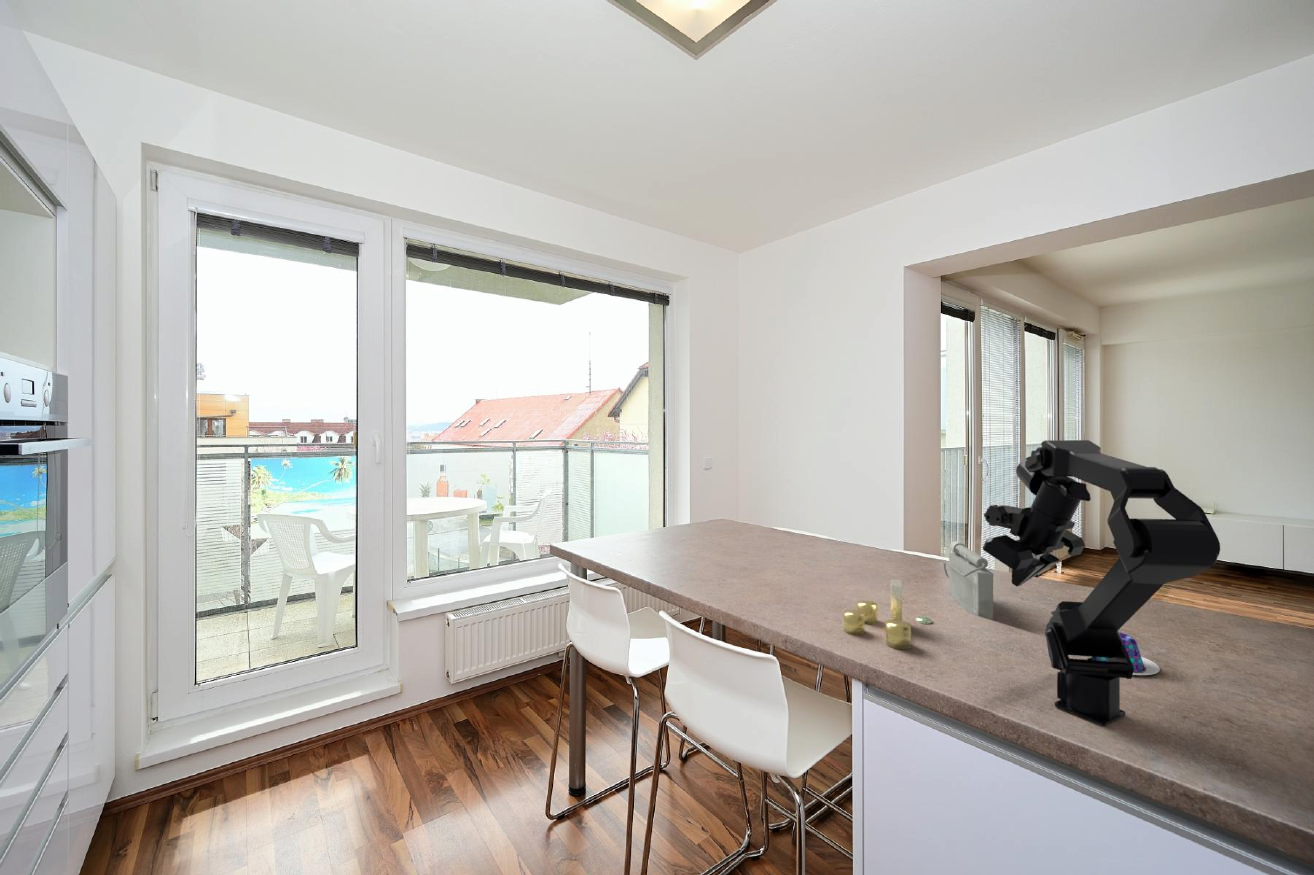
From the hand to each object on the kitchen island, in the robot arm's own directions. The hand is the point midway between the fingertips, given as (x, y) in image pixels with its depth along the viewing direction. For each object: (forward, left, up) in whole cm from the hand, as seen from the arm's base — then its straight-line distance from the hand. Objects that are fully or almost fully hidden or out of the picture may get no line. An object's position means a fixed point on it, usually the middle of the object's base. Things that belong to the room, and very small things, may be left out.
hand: (1015, 584), depth 96 cm
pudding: (-8, -16, -15) cm, 23 cm away
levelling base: (+17, +8, -14) cm, 23 cm away
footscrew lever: (+17, +10, -13) cm, 24 cm away
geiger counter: (+26, -23, -15) cm, 38 cm away
